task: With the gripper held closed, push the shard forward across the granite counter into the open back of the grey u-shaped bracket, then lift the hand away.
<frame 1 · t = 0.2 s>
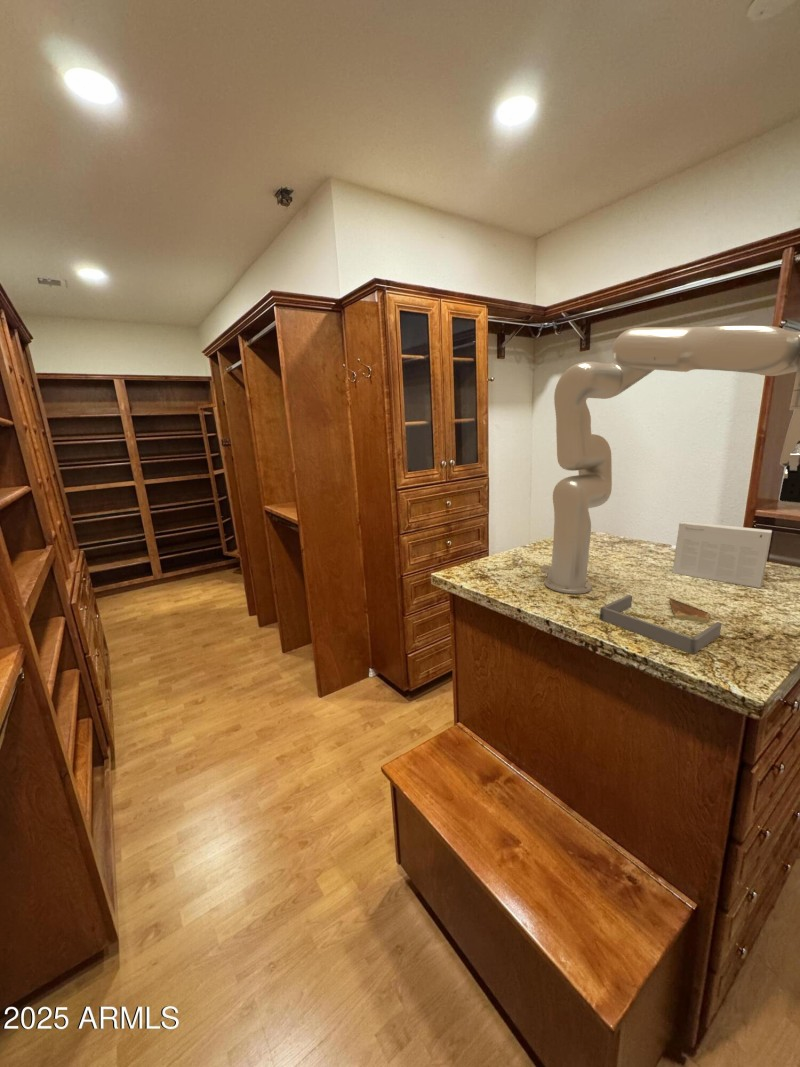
hand: (799, 498, 74), 31 cm above the worktop, tool pointing down, fingers open, 9 cm apart
grey u-shaped bracket: (657, 626, 93), on the worktop
shard: (681, 615, 99), on the worktop
skincare box: (714, 578, 121), on the worktop
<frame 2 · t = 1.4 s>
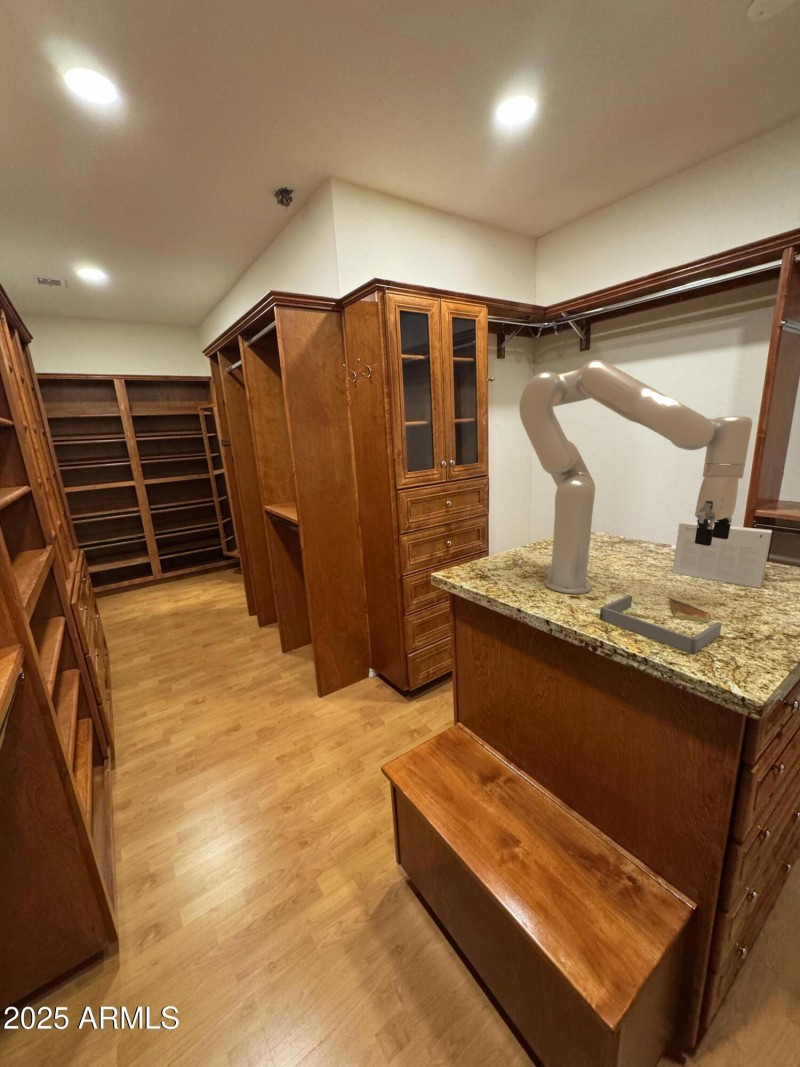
hand: (711, 541, 100), 17 cm above the worktop, tool pointing down, fingers open, 9 cm apart
nothing on the worktop moved.
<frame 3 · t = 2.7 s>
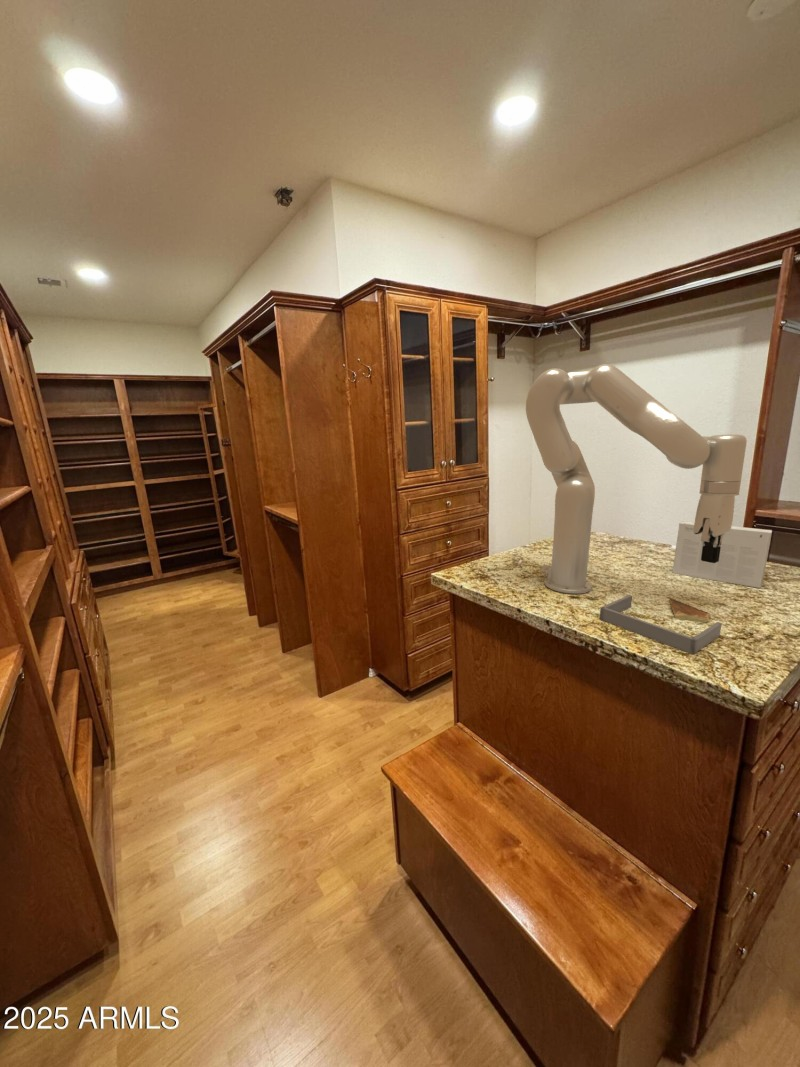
hand: (709, 561, 101), 11 cm above the worktop, tool pointing down, fingers closed
nothing on the worktop moved.
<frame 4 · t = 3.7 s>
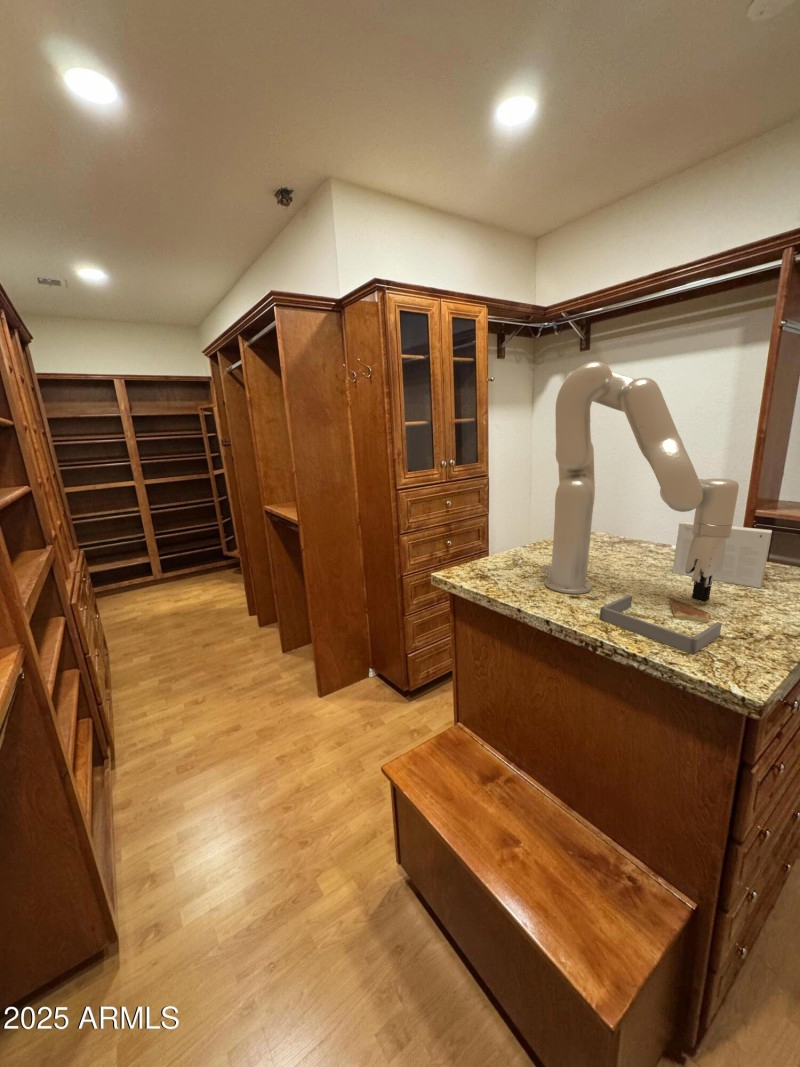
hand: (700, 599, 104), 1 cm above the worktop, tool pointing down, fingers closed
nothing on the worktop moved.
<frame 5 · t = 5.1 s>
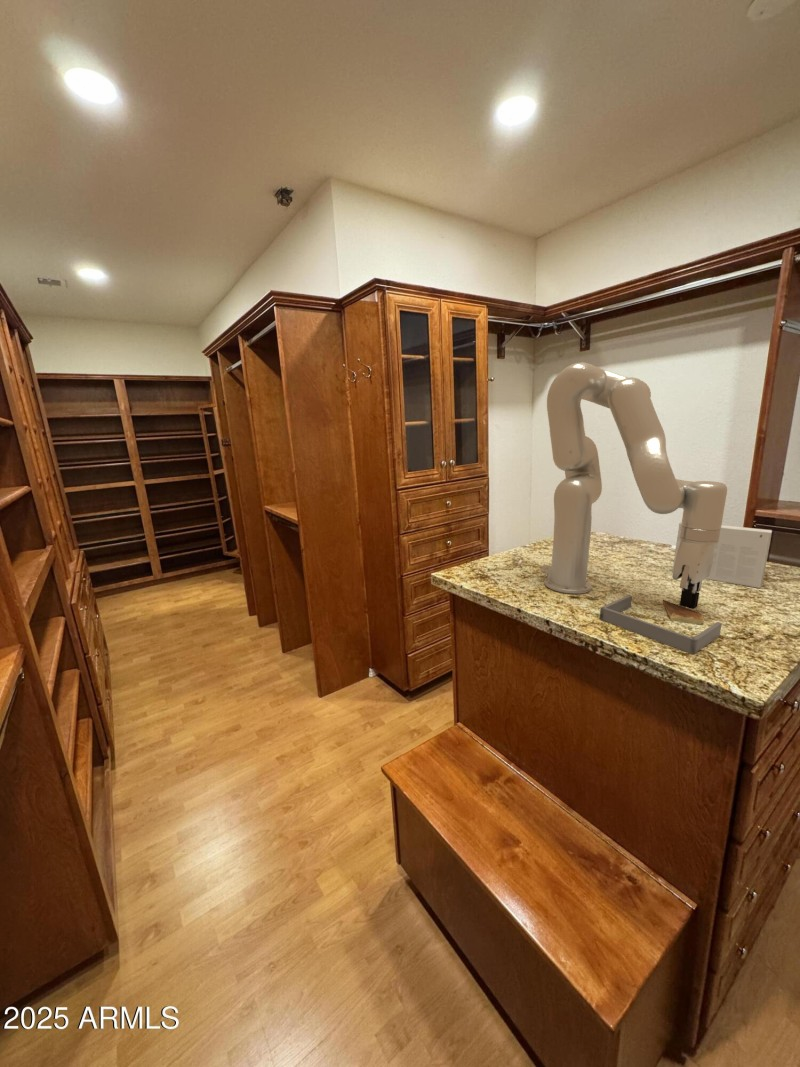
hand: (688, 606, 100), 1 cm above the worktop, tool pointing down, fingers closed
shard: (675, 617, 98), on the worktop
everything else where it was.
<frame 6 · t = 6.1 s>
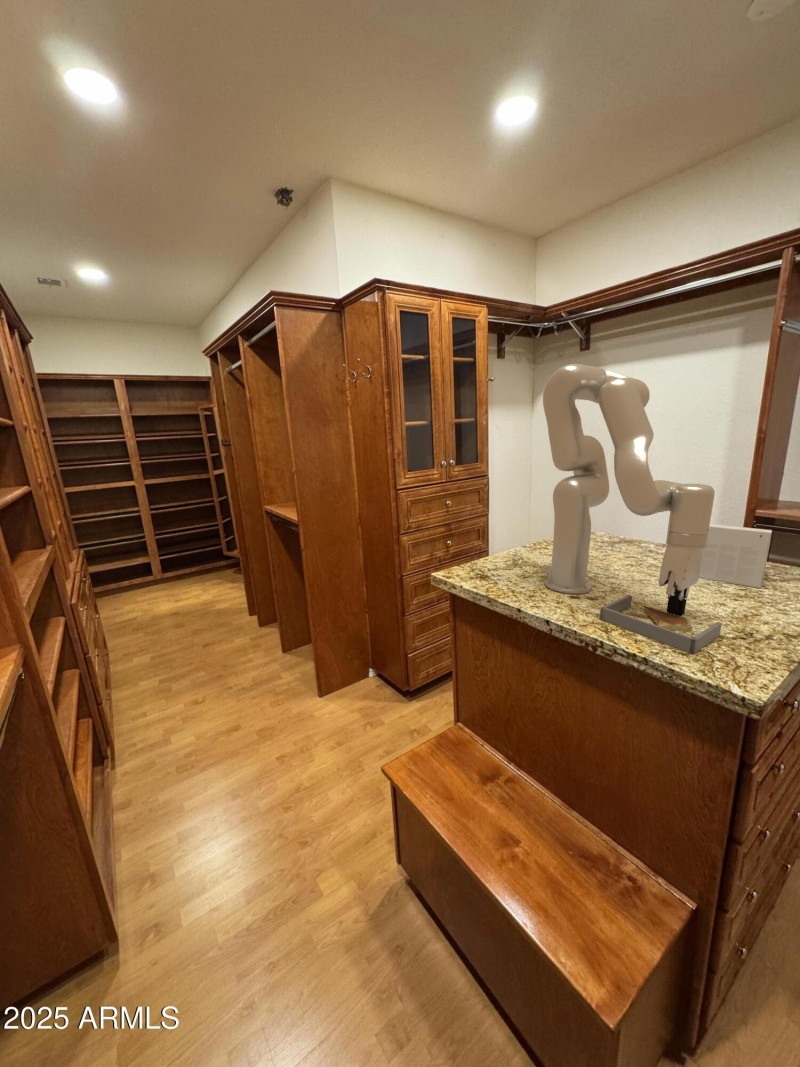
hand: (675, 613, 97), 1 cm above the worktop, tool pointing down, fingers closed
shard: (661, 624, 95), on the worktop
everything else where it was.
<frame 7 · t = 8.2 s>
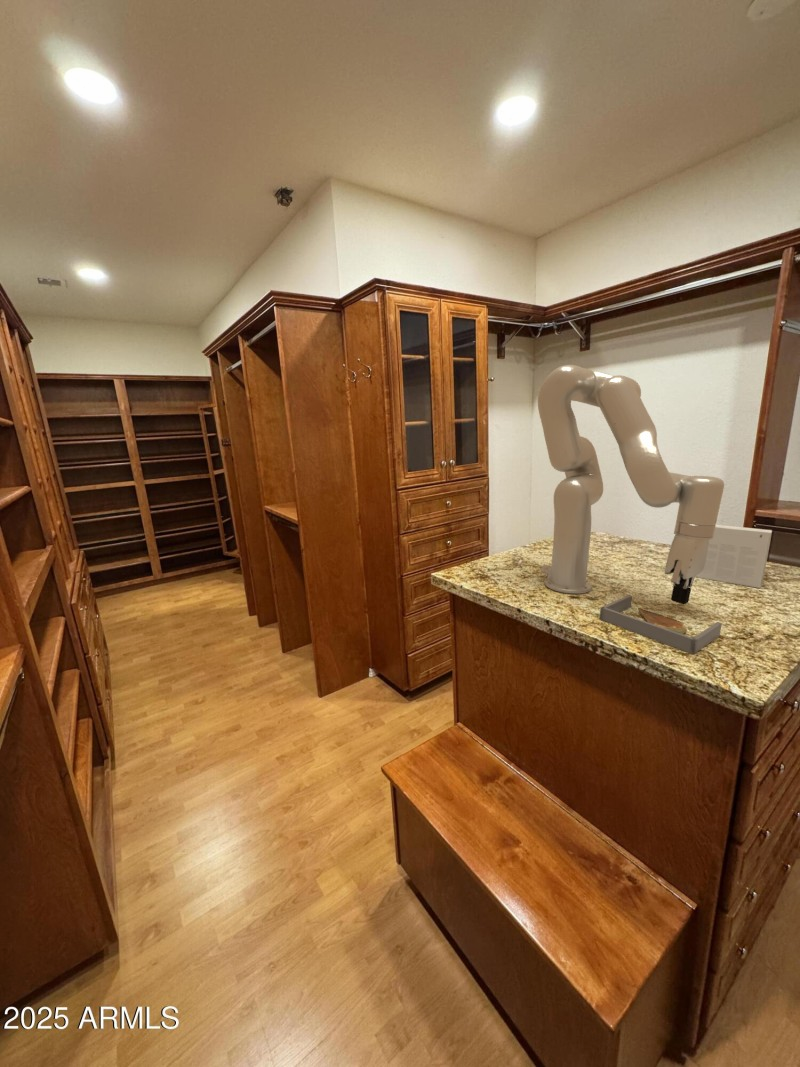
hand: (679, 601, 100), 2 cm above the worktop, tool pointing down, fingers closed
shard: (655, 627, 94), on the worktop
everything else where it was.
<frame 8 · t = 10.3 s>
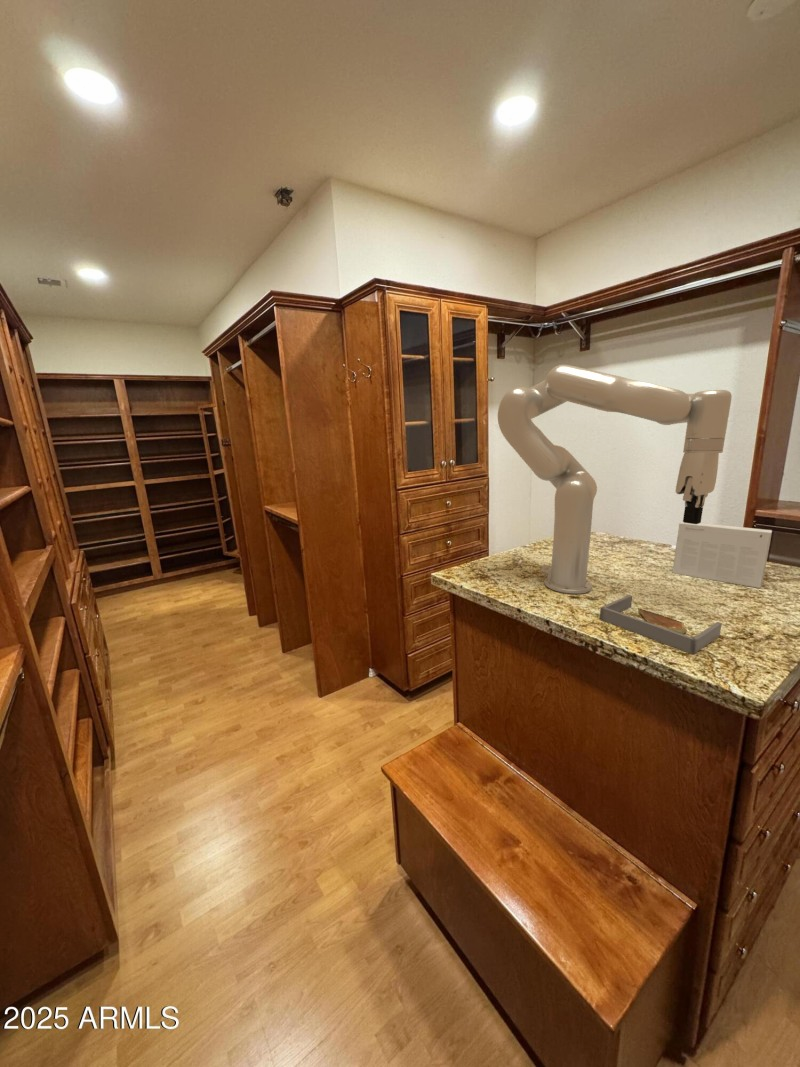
hand: (691, 522, 100), 21 cm above the worktop, tool pointing down, fingers closed
nothing on the worktop moved.
at the end: shard inside the target area on the grey u-shaped bracket (2.5 cm from its centre), point -0.7 cm above the grey u-shaped bracket's base; shard moved 11.2 cm from its start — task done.
